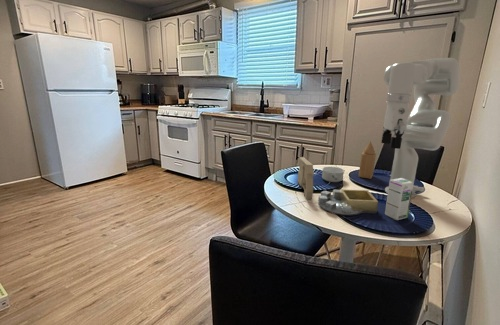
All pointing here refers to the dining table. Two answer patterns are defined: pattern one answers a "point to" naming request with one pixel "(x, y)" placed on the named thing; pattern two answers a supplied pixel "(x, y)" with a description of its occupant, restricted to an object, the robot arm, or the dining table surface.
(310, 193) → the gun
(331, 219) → the dining table surface
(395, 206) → the syrup box
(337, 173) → the saucepan
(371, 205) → the beige and grey tray
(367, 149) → the decorative item
